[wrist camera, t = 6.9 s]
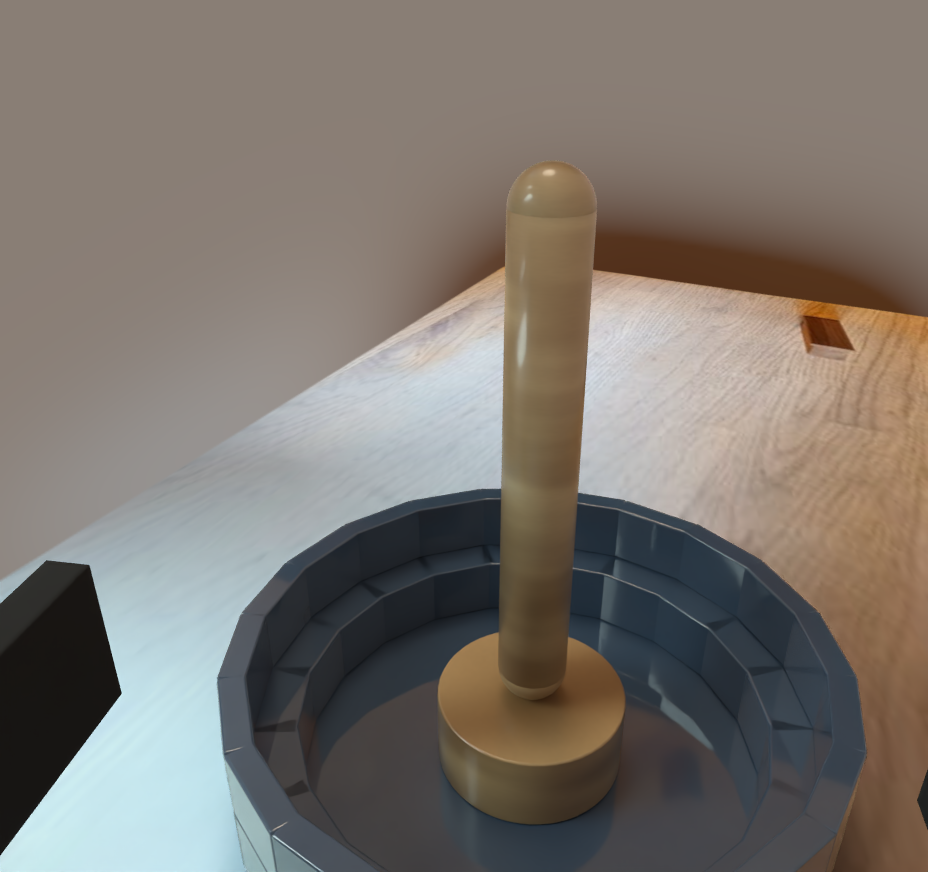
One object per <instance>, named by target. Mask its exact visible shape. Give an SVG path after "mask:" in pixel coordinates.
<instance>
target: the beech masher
mask: <svg viewBox="0 0 928 872" xmlns="http://www.w3.org/2000/svg"><path fill="white" fill-rule="evenodd" d="M596 214H597V199H596V195H595V190H594V188H593V186H592V184H591V182H590V181H589V179H588V178H587V177H586V175H585V174H584V173H583V172H582V171H580V170H579V169H578V168H577V167H575V166H573V165H571V164H569V163H566V162H562V161H555V160H550V161H544V162H540V163H537V164H535V165H533V166H531V167H529V168H528V169H526V170H525V171H524V172H523V173H521V174H520V175H519V177H518V178H517V179H516V180H515V182H514V184H513V186H512V187H511V189H510V192H509V195H508V198H507V206H506V258H505V312H504V366H503V421H502V476H501V530H500V585H499V632H498V633H494V634H490V635H487V636H485V637H482V638H479V639H477V640H475V641H473V642H471V643H470V644H468V645H467V646H465V647H464V648H462V649H461V650H460V651H459V652H457V653H456V654H455V655H454V656H453V657H452V659H451V660H450V661H449V662H448V664H447V665H446V667H445V668H444V670H443V672H442V675H441V677H440V680H439V684H438V694H437V699H438V739H439V756H440V762H441V765H442V769H443V771H444V773H445V775H446V777H447V779H448V781H449V782H450V784H451V785H452V787H453V788H454V789H455V790H456V791H457V793H458V794H459V795H460V796H461V797H462V798H463V799H465V800H466V801H467V802H468V803H469V804H471V805H472V806H474V807H475V808H477V809H478V810H480V811H482V812H484V813H486V814H488V815H490V816H493V817H495V818H498V819H501V820H504V821H509V822H513V823H519V824H527V825H542V824H551V823H557V822H561V821H565V820H568V819H571V818H574V817H576V816H578V815H580V814H582V813H584V812H586V811H588V810H589V809H591V808H592V807H593V806H595V805H596V804H597V803H598V802H599V801H600V800H601V799H602V798H603V797H604V796H605V795H606V794H607V792H608V791H609V790H610V789H611V787H612V785H613V783H614V781H615V779H616V776H617V773H618V769H619V763H620V754H621V745H622V736H623V727H624V718H625V709H626V697H625V692H624V688H623V685H622V683H621V680H620V678H619V676H618V675H617V673H616V671H615V670H614V668H613V667H612V666H611V665H610V663H609V662H608V661H607V660H606V659H605V658H604V657H603V656H602V655H600V654H599V653H598V652H596V651H595V650H594V649H592V648H591V647H589V646H587V645H586V644H584V643H582V642H580V641H578V640H576V639H573V638H570V637H568V635H569V620H570V605H571V590H572V575H573V560H574V545H575V530H576V515H577V500H578V485H579V470H580V455H581V440H582V425H583V410H584V395H585V380H586V365H587V350H588V335H589V320H590V305H591V290H592V275H593V260H594V245H595V244H594V243H595V230H596Z"/></svg>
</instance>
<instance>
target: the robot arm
mask: <svg viewBox="0 0 928 872" xmlns="http://www.w3.org/2000/svg"><path fill="white" fill-rule="evenodd" d="M121 694H122V693H121V689H120V685H119V681H118V677H117V673H116V669H115V665H114V661H113V657H112V653H111V649H110V645H109V641H108V637H107V633H106V629H105V625H104V621H103V617H102V613H101V609H100V606H99V602H98V598H97V594H96V590H95V586H94V582H93V578H92V574H91V570H90V566H89V565H84V564H75V563H66V562H56V561H47V560H46V561H45V562H44V563H43V564H42V565H41V566H40V567H39V568H38V569H37V570H36V571H35V572H34V573H33V574H31V575H30V576H29V577H28V578H27V579H26V580H25V581H24V582H23V583H22V584H21V585H20V586H19V587H18V588H17V589H15V590H14V591H13V592H12V593H11V594H10V595H9V596H8V597H7V598H6V599H5V600H4V601H3V602H2V603H0V855H1V854H2V853H3V851H4V850H5V849H6V847H7V846H8V845H9V843H10V842H11V841H12V839H13V838H14V837H15V835H16V834H17V833H18V831H19V830H20V829H21V827H22V826H23V825H24V823H25V822H26V821H27V819H28V818H29V817H30V815H31V814H32V813H33V811H34V810H35V809H36V807H37V806H38V805H39V803H40V802H41V801H42V799H43V798H44V797H45V795H46V794H47V793H48V791H49V790H50V789H51V787H52V786H53V785H54V783H55V782H56V781H57V779H58V778H59V776H60V775H61V774H62V772H63V771H64V770H65V768H66V767H67V766H68V764H69V763H70V762H71V760H72V759H73V758H74V756H75V755H76V754H77V752H78V751H79V750H80V748H81V747H82V746H83V744H84V743H85V742H86V740H87V739H88V738H89V736H90V735H91V734H92V732H93V731H94V730H95V728H96V727H97V726H98V724H99V723H100V722H101V720H102V719H103V718H104V716H105V715H106V714H107V712H108V711H109V710H110V708H111V707H112V706H113V704H114V703H115V702H116V700H117V699H118V698H119V696H120V695H121ZM917 801H918V804H919V807H920V810H921V812H922V815H923V818H924V821H925V823H926V826H927V829H928V770H927V773H926V776H925V779H924V782H923V785H922V788H921V791H920V794H919V797H918V799H917Z"/></svg>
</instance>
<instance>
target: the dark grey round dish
mask: <svg viewBox="0 0 928 872" xmlns="http://www.w3.org/2000/svg"><path fill="white" fill-rule="evenodd" d="M500 530H501V489H481V490H480V489H477V490H471V491H465V492H459V493H453V494H447V495H441V496H435V497H429V498H424V499H418V500H412V501H408V502H405V503H402V504H400V505H397V506H394V507H391V508H389V509H386V510H383V511H381V512H378V513H375V514H372V515H370V516H367V517H364V518H361V519H359V520H356V521H353V522H351V523H348V524H345V525H344V526H342V527H340V528H339V529H337V530H336V531H334V532H333V533H331V534H329V535H328V536H326V537H325V538H323V539H322V540H320V541H319V542H317V543H315V544H314V545H312V546H311V547H309V548H308V549H306V550H305V551H303V552H301V553H300V554H298V555H297V556H295V557H294V558H292V559H291V560H289V561H288V562H287V563H285V564H284V565H283V566H282V567H281V569H280V570H279V571H278V572H277V573H276V574H275V575H274V577H273V578H272V579H271V580H270V581H269V582H268V583H267V585H266V586H265V587H264V588H263V589H262V590H261V591H260V593H259V594H258V595H257V596H256V597H255V598H254V599H253V601H252V602H251V603H250V604H249V605H248V606H247V607H246V609H245V610H244V611H243V612H242V614H241V615H240V618H239V621H238V623H237V626H236V629H235V631H234V634H233V637H232V639H231V642H230V645H229V647H228V650H227V653H226V656H225V658H224V661H223V664H222V666H221V669H220V672H219V674H218V677H217V680H218V681H217V690H218V702H219V714H220V726H221V738H222V750H223V758H224V763H225V768H226V774H227V779H228V784H229V790H230V795H231V800H232V806H233V810H234V817H235V822H236V828H237V833H238V838H239V844H240V849H241V854H242V860H243V864H244V866H245V868H246V870H247V872H832V871H833V868H834V865H835V862H836V858H837V855H838V852H839V848H840V845H841V842H842V838H843V835H844V831H845V828H846V825H847V821H848V818H849V814H850V811H851V808H852V805H853V801H854V798H855V795H856V791H857V788H858V785H859V781H860V778H861V775H862V771H863V768H864V764H865V761H866V758H867V748H866V740H865V732H864V724H863V717H862V709H861V701H860V693H859V686H858V679H857V676H856V674H855V672H854V671H853V669H852V667H851V666H850V664H849V662H848V660H847V659H846V657H845V655H844V654H843V652H842V650H841V649H840V647H839V645H838V643H837V642H836V640H835V638H834V637H833V635H832V633H831V632H830V630H829V628H828V626H827V625H826V623H825V621H824V620H823V618H822V616H821V615H820V613H818V612H817V610H816V609H815V608H814V607H813V606H811V605H810V604H809V603H808V602H807V601H806V600H805V599H804V598H803V597H802V596H801V595H799V594H798V593H797V592H796V591H795V590H794V589H793V588H792V587H791V586H790V585H788V584H787V583H786V582H785V581H784V580H783V579H782V578H781V577H780V576H779V575H777V574H776V573H775V572H774V571H773V570H772V569H771V568H770V567H769V566H768V565H767V564H765V563H764V562H762V560H761V559H759V558H757V557H755V556H753V555H752V554H750V553H748V552H746V551H745V550H743V549H741V548H739V547H737V546H736V545H734V544H732V543H730V542H728V541H727V540H725V539H723V538H721V537H720V536H718V535H716V534H714V533H712V532H711V531H709V530H707V529H705V528H703V527H702V526H700V525H698V524H694V523H691V522H688V521H685V520H682V519H679V518H676V517H674V516H671V515H668V514H665V513H662V512H659V511H656V510H653V509H650V508H647V507H644V506H641V505H638V504H635V503H632V502H629V501H626V502H625V500H621V499H615V498H608V497H602V496H596V495H589V494H583V493H578V500H577V515H576V530H575V545H574V560H573V575H572V590H571V605H570V620H569V635H568V637H570V638H573V639H576V640H578V641H580V642H582V643H584V644H586V645H587V646H589V647H591V648H592V649H594V650H595V651H596V652H598V653H599V654H600V655H602V656H603V657H604V658H605V659H606V660H607V661H608V662H609V663H610V665H611V666H612V667H613V668H614V670H615V671H616V673H617V675H618V676H619V678H620V680H621V683H622V685H623V688H624V692H625V697H626V709H625V718H624V727H623V736H622V745H621V754H620V763H619V769H618V773H617V776H616V779H615V781H614V783H613V785H612V787H611V789H610V790H609V791H608V792H607V794H606V795H605V796H604V797H603V798H602V799H601V800H600V801H599V802H598V803H597V804H596V805H595V806H593V807H592V808H591V809H589V810H588V811H586V812H584V813H582V814H580V815H578V816H576V817H574V818H571V819H568V820H565V821H561V822H557V823H551V824H542V825H527V824H519V823H513V822H509V821H504V820H501V819H498V818H495V817H493V816H490V815H488V814H486V813H484V812H482V811H480V810H478V809H477V808H475V807H474V806H472V805H471V804H469V803H468V802H467V801H466V800H465V799H463V798H462V797H461V796H460V795H459V794H458V793H457V791H456V790H455V789H454V788H453V787H452V785H451V784H450V782H449V781H448V779H447V777H446V775H445V773H444V771H443V769H442V765H441V762H440V756H439V739H438V699H437V694H438V684H439V680H440V677H441V675H442V672H443V670H444V668H445V667H446V665H447V664H448V662H449V661H450V660H451V659H452V657H453V656H454V655H455V654H456V653H457V652H459V651H460V650H461V649H462V648H464V647H465V646H467V645H468V644H470V643H471V642H473V641H475V640H477V639H479V638H482V637H485V636H487V635H490V634H494V633H498V632H499V585H500Z"/></svg>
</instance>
